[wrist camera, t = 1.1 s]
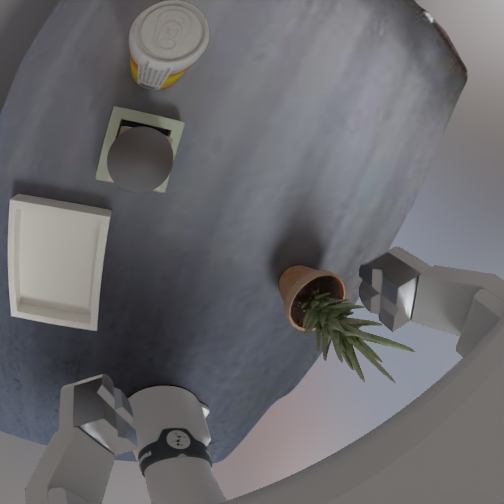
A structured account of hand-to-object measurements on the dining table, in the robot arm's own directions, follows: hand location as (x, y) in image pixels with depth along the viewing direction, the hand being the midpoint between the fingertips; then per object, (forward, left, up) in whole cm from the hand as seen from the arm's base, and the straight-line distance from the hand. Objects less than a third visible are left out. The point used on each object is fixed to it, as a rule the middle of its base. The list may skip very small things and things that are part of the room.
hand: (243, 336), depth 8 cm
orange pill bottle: (+12, +4, -31) cm, 33 cm away
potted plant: (-12, -24, -31) cm, 41 cm away
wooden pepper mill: (+2, +3, -31) cm, 31 cm away
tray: (-14, +11, -31) cm, 35 cm away
